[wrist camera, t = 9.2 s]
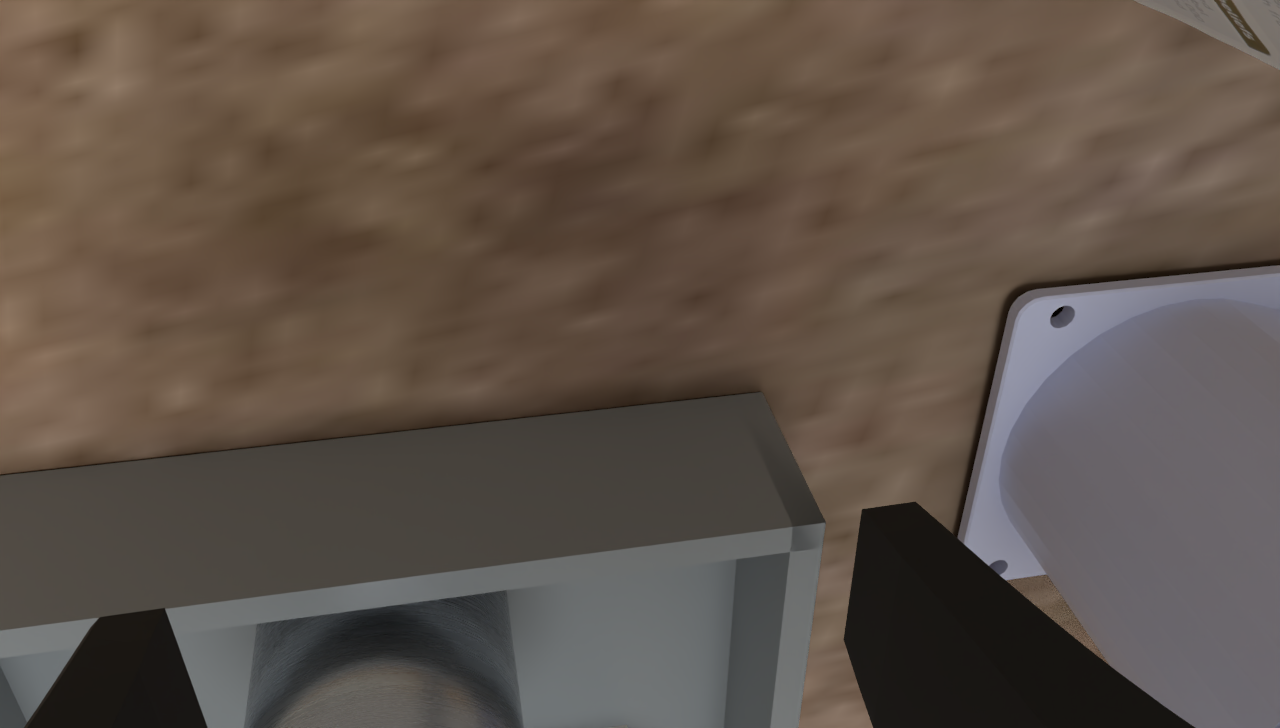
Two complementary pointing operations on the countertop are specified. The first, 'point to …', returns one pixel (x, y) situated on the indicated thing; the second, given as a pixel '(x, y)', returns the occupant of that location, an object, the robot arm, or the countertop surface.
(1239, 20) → the syrup box
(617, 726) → the block
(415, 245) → the countertop surface
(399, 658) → the metal can
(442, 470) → the tote
